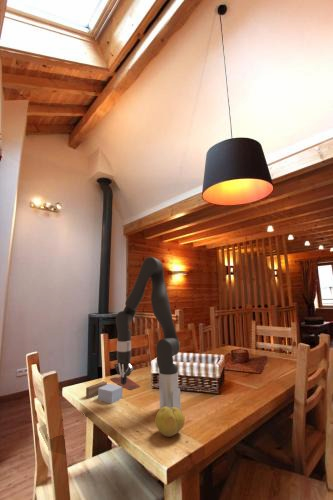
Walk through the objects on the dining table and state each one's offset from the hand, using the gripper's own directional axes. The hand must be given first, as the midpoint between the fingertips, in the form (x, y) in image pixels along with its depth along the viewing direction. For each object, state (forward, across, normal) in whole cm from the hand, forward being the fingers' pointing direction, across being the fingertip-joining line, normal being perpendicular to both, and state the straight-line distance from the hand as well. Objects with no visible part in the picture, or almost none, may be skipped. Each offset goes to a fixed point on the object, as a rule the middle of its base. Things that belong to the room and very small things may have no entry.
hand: (123, 384), depth 134 cm
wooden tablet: (+10, +22, -22) cm, 32 cm away
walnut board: (+10, +21, 0) cm, 23 cm away
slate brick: (+10, +10, 0) cm, 14 cm away
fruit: (+9, -38, +10) cm, 40 cm away
